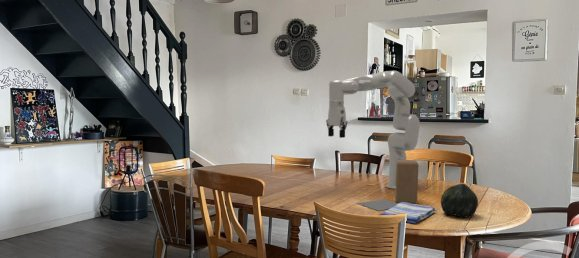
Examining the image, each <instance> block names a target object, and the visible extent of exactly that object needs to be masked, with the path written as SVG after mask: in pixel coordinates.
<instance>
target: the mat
mask: <svg viewBox="0 0 579 258" xmlns="http://www.w3.org/2000/svg"><path fill="white" fill-rule="evenodd" d="M356 204H357V205H360V206H362V207H366V208H367V209H371V210H374V211H376V212H382V211H386V210H389V209H390V208H392V207H394V206H396V205H397V204H399V203H397V202H396V201H391V200H388V199H379V200H377V199H376V200H371V201H370V200H369V201H364V202H357V203H356Z"/></svg>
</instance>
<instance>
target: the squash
mask: <svg viewBox="0 0 579 258" xmlns="http://www.w3.org/2000/svg"><path fill="white" fill-rule="evenodd" d="M440 206H441V210H442V211H443V212H444V213H445V214H446V215H450V216H454V215H455V216H459V217H461V218H470V217H472V216H473V215H475V213H476V211H477V208H478V206H479V200H478V196H477V194H476V193H475V192H474V191H473V190H472V189H471V188H470V187H469V186H468V185H467V184H465V183H459V184H456V185H452V186H450V187H448V188H446V189H445V190H444V191H443V193H442V195H441V198H440Z"/></svg>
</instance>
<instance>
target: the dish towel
mask: <svg viewBox="0 0 579 258" xmlns="http://www.w3.org/2000/svg"><path fill="white" fill-rule="evenodd" d="M436 211H437V210H436V208H435V207H434V206H428V205H421V204H410V203H406V202H401V203H398V204H397V205H396V206H394V207H392V208H390V209H389V210H384V211H383V212H381V213H379V214H378V216H379V215H396V214H403V213H407V222H406V223H408V224H413V225H416V224H417V223H419V222H420V221H422V220H424V219H426V218H428V217H430V216H431V215H433V214H434V213H435V212H436Z"/></svg>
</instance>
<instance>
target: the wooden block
mask: <svg viewBox="0 0 579 258" xmlns="http://www.w3.org/2000/svg"><path fill="white" fill-rule="evenodd" d="M418 184H419V163H418V161H416V160H413V159H412V160H409V159H406V160H397V161H396V184H395V189H394V199H395V203H398V204H399V203H401V202H406V203H410V204H415V205H417V203H418V187H419V186H418Z"/></svg>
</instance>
